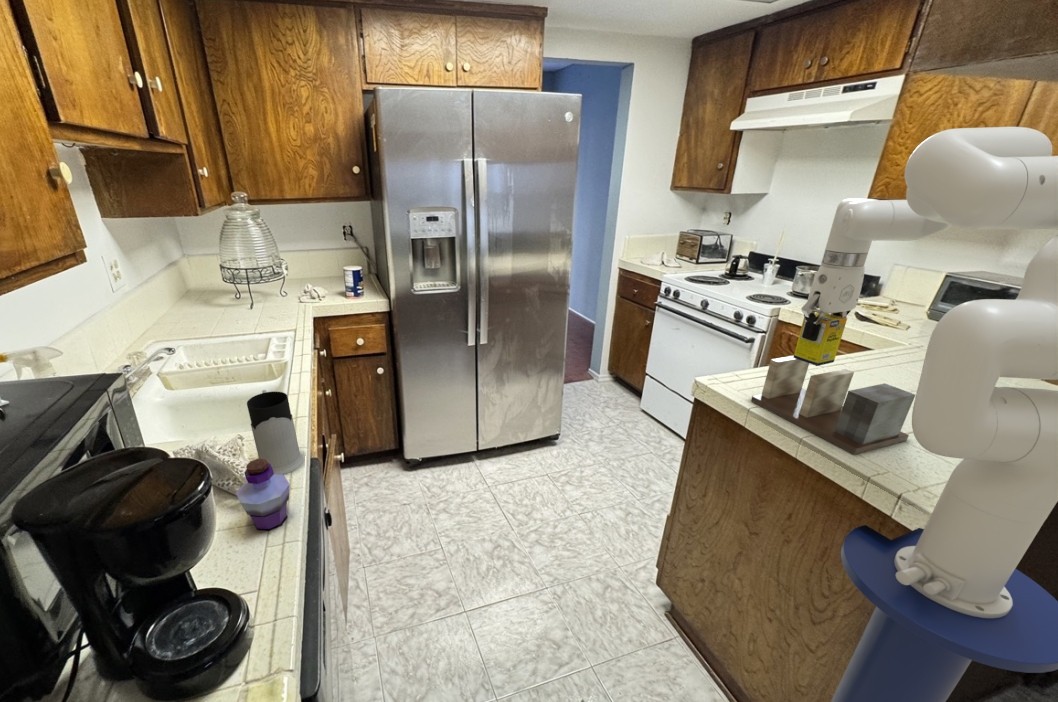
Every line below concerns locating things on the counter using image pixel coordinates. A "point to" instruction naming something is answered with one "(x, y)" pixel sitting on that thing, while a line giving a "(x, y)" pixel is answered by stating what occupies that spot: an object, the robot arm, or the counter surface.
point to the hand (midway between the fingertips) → (820, 336)
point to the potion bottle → (264, 495)
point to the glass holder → (274, 431)
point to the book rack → (836, 406)
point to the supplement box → (821, 341)
